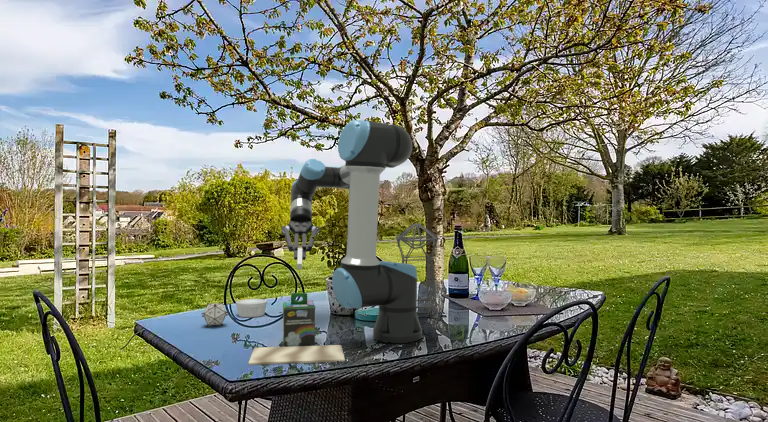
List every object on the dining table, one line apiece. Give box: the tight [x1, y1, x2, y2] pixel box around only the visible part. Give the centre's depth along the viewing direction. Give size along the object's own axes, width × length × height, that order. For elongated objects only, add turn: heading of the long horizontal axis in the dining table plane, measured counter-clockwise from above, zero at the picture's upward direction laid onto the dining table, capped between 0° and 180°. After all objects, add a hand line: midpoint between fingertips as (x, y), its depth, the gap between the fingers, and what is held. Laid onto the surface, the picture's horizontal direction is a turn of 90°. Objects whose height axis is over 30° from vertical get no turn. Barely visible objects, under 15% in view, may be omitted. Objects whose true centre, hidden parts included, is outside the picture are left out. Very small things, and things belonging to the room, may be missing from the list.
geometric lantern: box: [394, 222, 441, 316], centre depth 182 cm, size 16×16×35 cm
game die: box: [201, 301, 229, 328], centre depth 161 cm, size 9×8×10 cm
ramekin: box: [235, 298, 268, 318], centre depth 180 cm, size 11×11×5 cm
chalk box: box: [282, 292, 316, 347], centre depth 141 cm, size 9×9×15 cm
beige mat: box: [248, 344, 346, 366], centre depth 129 cm, size 24×14×1 cm, turn 99°
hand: (299, 266), depth 154 cm, fingers closed
